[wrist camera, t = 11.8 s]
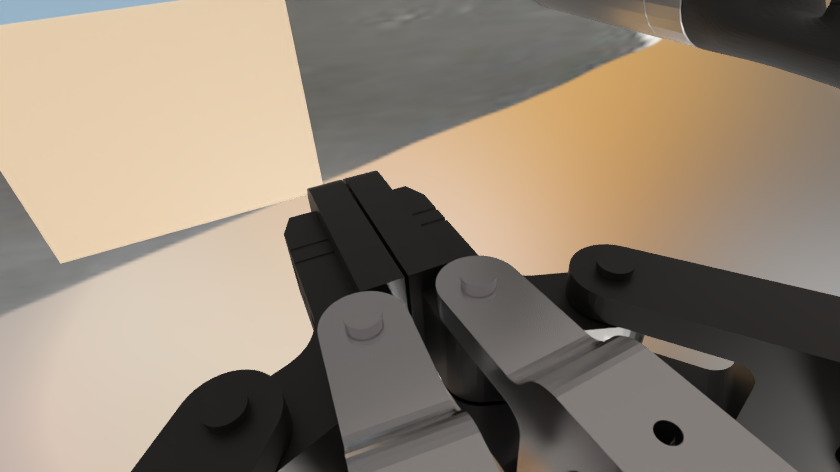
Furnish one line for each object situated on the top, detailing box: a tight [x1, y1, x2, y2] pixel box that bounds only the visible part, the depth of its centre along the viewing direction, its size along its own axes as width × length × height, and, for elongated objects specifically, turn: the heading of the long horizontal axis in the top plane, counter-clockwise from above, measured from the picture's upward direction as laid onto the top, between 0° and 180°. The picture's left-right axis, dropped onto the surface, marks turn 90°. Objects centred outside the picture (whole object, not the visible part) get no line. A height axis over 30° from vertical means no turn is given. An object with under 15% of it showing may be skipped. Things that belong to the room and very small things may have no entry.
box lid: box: [0, 0, 323, 263], centre depth 27 cm, size 16×16×1 cm
